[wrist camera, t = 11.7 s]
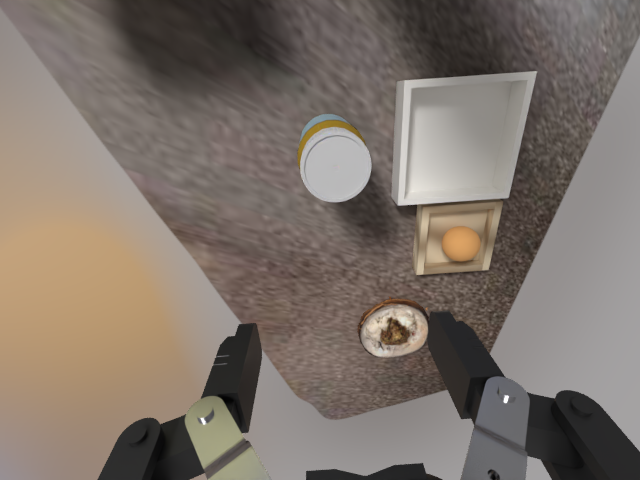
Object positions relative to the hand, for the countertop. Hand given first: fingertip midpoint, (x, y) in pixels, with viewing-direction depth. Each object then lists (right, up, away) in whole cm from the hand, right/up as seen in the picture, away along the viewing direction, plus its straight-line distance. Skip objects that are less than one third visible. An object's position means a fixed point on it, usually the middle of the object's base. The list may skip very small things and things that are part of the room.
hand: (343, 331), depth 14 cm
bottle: (0, +17, +25) cm, 31 cm away
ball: (+19, +5, +31) cm, 36 cm away
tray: (+19, +5, +32) cm, 37 cm away
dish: (+16, +17, +25) cm, 35 cm away
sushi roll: (+12, -11, +40) cm, 43 cm away
